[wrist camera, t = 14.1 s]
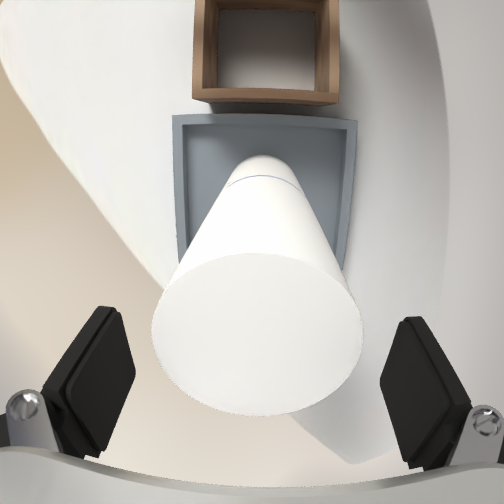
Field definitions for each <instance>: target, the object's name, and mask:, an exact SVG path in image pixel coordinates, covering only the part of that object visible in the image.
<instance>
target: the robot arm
mask: <svg viewBox="0 0 504 504" xmlns="http://www.w3.org/2000/svg"><path fill="white" fill-rule="evenodd" d="M135 375H136V370H135V366H134V363H133V359H132V355H131V351H130V348H129V344H128V340H127V336H126V332H125V328H124V325H123V320H122V316H121V314H120V312H117V310H116V309H115V308H114V307H107V306H98V307H97V308H96V310H95V311H94V313H93V314H92V316H91V317H90V318H89V319H88V321H87V322H86V324H85V325H84V326H83V328H82V329H81V330H80V332H79V333H78V335H77V336H76V338H75V339H74V340H73V342H72V343H71V345H70V346H69V348H68V349H67V351H66V352H65V353H64V355H63V356H62V358H61V359H60V361H59V362H58V364H57V365H56V367H55V368H54V370H53V371H52V373H51V375H50V376H49V378H48V379H47V381H46V382H45V384H44V385H43V389H42V391H41V392H40V393H39V392H37V391H35V390H31V389H27V390H22V391H19V392H17V393H15V394H14V395H13V396H12V397H11V398H10V399H9V400H8V402H7V405H6V413H5V414H2V415H0V504H504V418H503V417H502V415H501V413H500V412H499V411H497V410H496V409H495V408H493V407H491V406H487V405H478V406H476V407H474V408H473V407H472V405H471V400H470V398H469V397H468V395H467V393H466V391H465V389H464V387H463V385H462V384H461V382H460V380H459V378H458V376H457V374H456V373H455V371H454V369H453V367H452V366H451V364H450V362H449V360H448V359H447V357H446V355H445V353H444V352H443V350H442V348H441V347H440V345H439V343H438V342H437V340H436V338H435V337H434V335H433V333H432V332H431V330H430V329H429V327H428V325H427V324H426V322H425V321H424V319H423V318H422V317H420V316H417V317H406V318H405V319H404V320H403V321H401V322H400V323H399V325H398V328H397V331H396V334H395V337H394V340H393V343H392V346H391V349H390V352H389V355H388V358H387V361H386V363H385V366H384V369H383V372H382V374H381V377H380V387H381V390H382V393H383V397H384V400H385V403H386V406H387V409H388V412H389V415H390V419H391V422H392V425H393V428H394V432H395V435H396V438H397V442H398V445H399V449H400V452H401V455H402V459H403V461H404V462H407V463H408V466H409V469H414V468H418V467H423V470H424V472H419V473H415V474H410V475H404V476H399V477H393V478H386V479H381V480H374V481H367V482H359V483H350V484H342V485H341V484H340V485H329V486H313V487H283V488H282V487H275V488H274V487H242V486H225V485H214V484H205V483H196V482H188V481H181V480H174V479H168V478H162V477H156V476H150V475H145V474H141V473H136V472H131V471H126V470H123V469H118V468H114V467H110V466H106V465H102V464H98V463H94V462H91V461H87V460H84V457H85V455H89V456H92V457H95V458H99V455H100V453H101V451H105V450H106V448H107V446H108V443H109V440H110V438H111V435H112V433H113V430H114V428H115V425H116V423H117V420H118V418H119V415H120V413H121V410H122V408H123V405H124V403H125V400H126V398H127V395H128V393H129V391H130V388H131V386H132V384H133V381H134V379H135Z"/></svg>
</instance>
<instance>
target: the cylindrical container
mask: <svg viewBox="0 0 504 504" xmlns="http://www.w3.org/2000/svg"><path fill="white" fill-rule="evenodd" d="M151 336H152V341H153V347H154V352H155V354H156V356H157V359H158V361H159V363H160V365H161V367H162V368H163V370H164V371H165V373H166V374H167V376H168V377H169V378H170V379H171V380H172V381H173V382H174V383H175V384H176V385H177V386H178V387H179V388H180V389H181V390H182V391H184V392H185V393H187V394H188V395H189V396H190V397H192V398H194V399H195V400H197V401H199V402H201V403H203V404H205V405H207V406H210V407H212V408H215V409H218V410H221V411H224V412H228V413H233V414H238V415H244V416H274V415H281V414H286V413H291V412H295V411H298V410H301V409H304V408H306V407H309V406H311V405H313V404H315V403H317V402H319V401H321V400H323V399H324V398H326V397H327V396H328V395H330V394H331V393H332V392H334V391H335V390H336V389H338V388H339V387H340V385H341V384H342V383H343V382H344V381H345V380H346V379H347V378H348V377H349V375H350V374H351V372H352V370H353V369H354V367H355V365H356V364H357V362H358V359H359V356H360V353H361V349H362V346H363V325H362V320H361V315H360V312H359V310H358V308H357V305H356V303H355V301H354V298H353V296H352V294H351V292H350V289H349V287H348V285H347V282H346V280H345V278H344V276H343V274H342V271H341V269H340V267H339V265H338V263H337V260H336V258H335V256H334V254H333V252H332V250H331V247H330V245H329V243H328V241H327V239H326V237H325V235H324V233H323V231H322V228H321V226H320V224H319V222H318V220H317V218H316V216H315V214H314V212H313V210H312V208H311V206H310V204H309V202H308V200H307V198H306V196H305V194H304V192H303V190H302V188H301V186H300V184H299V182H298V180H297V178H296V176H295V175H294V173H293V171H292V169H291V168H290V167H289V166H288V165H287V164H286V163H285V162H284V161H282V160H281V159H279V158H277V157H274V156H270V155H256V156H252V157H249V158H247V159H246V160H244V161H242V162H241V163H240V164H239V165H238V166H237V167H236V168H235V170H234V171H233V173H232V174H231V176H230V178H229V179H228V181H227V183H226V184H225V186H224V188H223V189H222V191H221V193H220V195H219V196H218V198H217V200H216V201H215V203H214V205H213V206H212V208H211V210H210V211H209V213H208V215H207V216H206V218H205V220H204V222H203V223H202V225H201V227H200V228H199V230H198V232H197V234H196V235H195V237H194V239H193V241H192V242H191V244H190V246H189V248H188V249H187V251H186V253H185V255H184V256H183V258H182V260H181V262H180V264H179V265H178V267H177V269H176V271H175V272H174V274H173V276H172V278H171V280H170V282H169V283H168V285H167V287H166V289H165V291H164V293H163V294H162V297H161V298H160V300H159V302H158V305H157V308H156V311H155V313H154V316H153V321H152V332H151Z"/></svg>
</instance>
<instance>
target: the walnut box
mask: <svg viewBox="0 0 504 504" xmlns="http://www.w3.org/2000/svg"><path fill="white" fill-rule="evenodd" d="M227 9H273V10H293V11H306V12H315V89H314V91H308V90H293V89H271V88H217V50H218V19H219V10H227ZM339 64H340V35H339V0H195V15H194V37H193V70H192V99H195V100H199V101H203V102H206V103H275V104H296V105H310V106H326V105H331V104H336V103H339Z"/></svg>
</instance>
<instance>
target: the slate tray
mask: <svg viewBox="0 0 504 504" xmlns="http://www.w3.org/2000/svg"><path fill="white" fill-rule="evenodd" d="M172 130H173V172H174V196H175V215H176V231H177V245H178V258H179V264H180V262H181V260H182V258H183V256H184V255H185V253H186V251H187V249H188V248H189V246H190V244H191V242H192V241H193V239H194V237H195V235H196V234H197V232H198V230H199V228H200V227H201V225H202V223H203V222H204V220H205V218H206V216H207V215H208V213H209V211H210V210H211V208H212V206H213V205H214V203H215V201H216V200H217V198H218V196H219V195H220V193H221V191H222V189H223V188H224V186H225V184H226V183H227V181H228V179H229V178H230V176H231V174H232V173H233V171H234V170H235V168H236V167H237V166H238V165H239V164H240V163H241V162H242V161H244V160H246V159H247V158H249V157H252V156H256V155H270V156H274V157H277V158H279V159H281V160H282V161H284V162H285V163H286V164H287V165H288V166H289V167H290V168H291V169H292V171H293V173H294V175H295V176H296V178H297V180H298V182H299V184H300V186H301V188H302V190H303V192H304V194H305V196H306V198H307V200H308V202H309V204H310V206H311V208H312V210H313V212H314V214H315V216H316V218H317V220H318V222H319V224H320V226H321V228H322V231H323V233H324V235H325V237H326V239H327V241H328V243H329V245H330V247H331V250H332V252H333V254H334V256H335V258H336V260H337V263H338V265H339V267H340V269H341V270H343V263H344V256H345V249H346V241H347V233H348V225H349V217H350V208H351V198H352V188H353V177H354V165H355V152H356V137H357V121H356V120H347V119H337V118H327V117H314V116H300V115H281V114H240V113H229V114H188V115H172Z"/></svg>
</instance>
